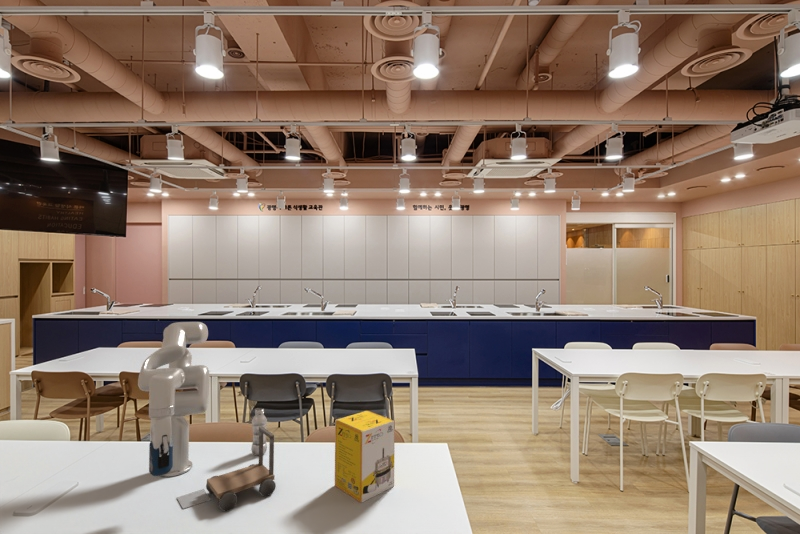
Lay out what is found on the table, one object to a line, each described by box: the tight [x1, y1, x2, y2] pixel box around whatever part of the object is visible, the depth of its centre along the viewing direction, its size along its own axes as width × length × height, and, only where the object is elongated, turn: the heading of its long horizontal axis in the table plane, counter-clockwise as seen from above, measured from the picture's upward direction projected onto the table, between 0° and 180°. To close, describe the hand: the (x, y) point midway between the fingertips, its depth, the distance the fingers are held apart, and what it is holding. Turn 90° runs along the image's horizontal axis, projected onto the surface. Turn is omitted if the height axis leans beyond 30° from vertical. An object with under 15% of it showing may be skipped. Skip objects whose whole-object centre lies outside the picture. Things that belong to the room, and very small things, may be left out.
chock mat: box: [176, 488, 212, 510], centre depth 144 cm, size 9×9×1 cm
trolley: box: [205, 427, 277, 512], centre depth 148 cm, size 20×16×21 cm
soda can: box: [148, 437, 173, 477], centre depth 137 cm, size 7×7×12 cm
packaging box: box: [334, 410, 396, 503], centre depth 154 cm, size 16×16×25 cm
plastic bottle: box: [250, 407, 268, 456], centre depth 181 cm, size 6×7×20 cm
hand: (161, 462), depth 137 cm, fingers closed on soda can, 6 cm apart
